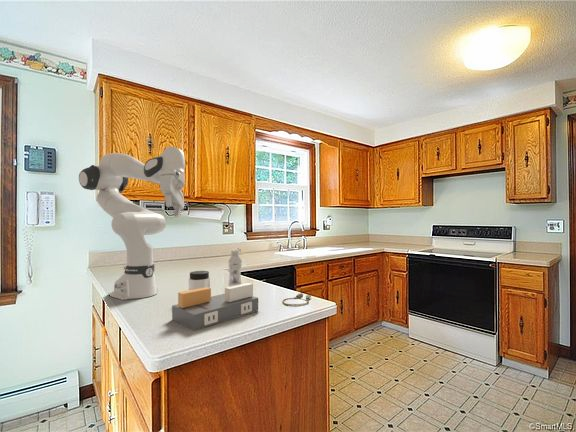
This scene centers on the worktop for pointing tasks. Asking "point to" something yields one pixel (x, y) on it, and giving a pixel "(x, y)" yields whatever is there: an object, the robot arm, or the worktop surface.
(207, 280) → the jar
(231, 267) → the plastic bottle
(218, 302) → the switch box
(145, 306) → the worktop surface
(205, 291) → the orange switch
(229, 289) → the white switch
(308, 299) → the extension cord
